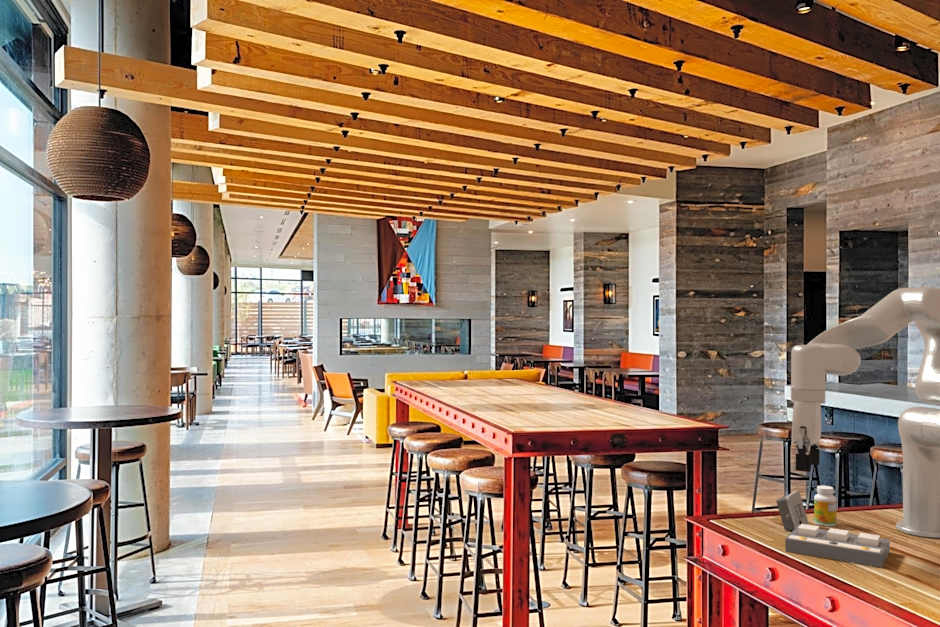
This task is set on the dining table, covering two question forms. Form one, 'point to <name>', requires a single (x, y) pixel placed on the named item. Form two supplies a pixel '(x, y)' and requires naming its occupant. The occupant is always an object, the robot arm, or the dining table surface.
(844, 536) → the middle button
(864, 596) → the dining table surface
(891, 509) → the dining table surface
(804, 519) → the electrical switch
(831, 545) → the switch panel
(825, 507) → the supplement bottle
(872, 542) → the right button
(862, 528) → the dining table surface
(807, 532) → the left button
